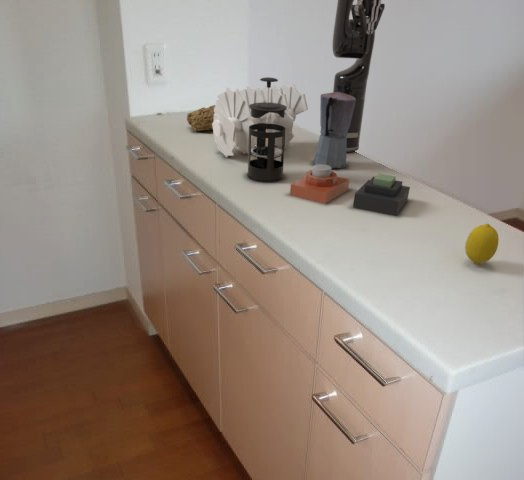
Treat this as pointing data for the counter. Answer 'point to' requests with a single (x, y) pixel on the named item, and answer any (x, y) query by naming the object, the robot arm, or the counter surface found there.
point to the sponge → (201, 118)
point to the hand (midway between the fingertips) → (362, 52)
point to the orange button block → (319, 187)
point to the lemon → (481, 243)
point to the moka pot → (334, 128)
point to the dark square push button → (381, 198)
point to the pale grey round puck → (321, 171)
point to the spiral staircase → (239, 117)
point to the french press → (268, 167)
